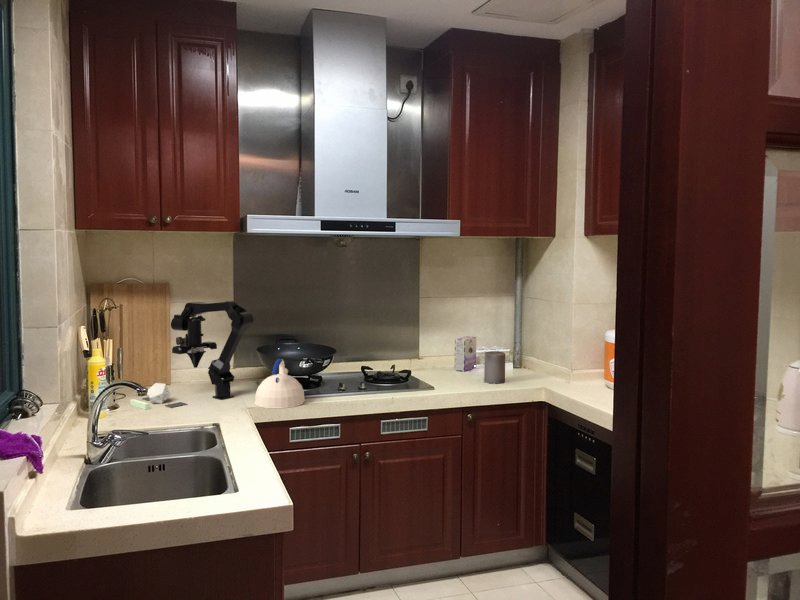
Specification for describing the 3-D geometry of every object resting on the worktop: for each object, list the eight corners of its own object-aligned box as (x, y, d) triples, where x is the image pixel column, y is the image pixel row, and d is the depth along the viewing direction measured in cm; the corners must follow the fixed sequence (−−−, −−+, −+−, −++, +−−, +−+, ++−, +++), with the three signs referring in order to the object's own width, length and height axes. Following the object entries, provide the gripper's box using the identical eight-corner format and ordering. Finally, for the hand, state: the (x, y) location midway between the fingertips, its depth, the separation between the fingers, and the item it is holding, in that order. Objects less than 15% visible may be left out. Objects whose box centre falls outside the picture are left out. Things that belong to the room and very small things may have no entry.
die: (150, 407, 256) (165, 388, 257) (138, 395, 260) (152, 375, 260) (163, 410, 264) (178, 391, 264) (151, 398, 267) (165, 379, 268)
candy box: (466, 366, 340) (466, 335, 339) (476, 367, 337) (476, 336, 335) (454, 370, 328) (454, 338, 327) (464, 372, 325) (464, 339, 324)
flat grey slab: (187, 404, 259) (187, 399, 259) (152, 411, 248) (152, 406, 247) (157, 396, 274) (157, 391, 273) (123, 402, 262) (123, 397, 262)
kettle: (309, 396, 273) (308, 354, 271) (300, 409, 252) (299, 363, 251) (261, 396, 273) (260, 354, 272) (248, 408, 253) (247, 363, 251)
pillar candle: (501, 379, 307) (501, 348, 306) (507, 383, 298) (508, 351, 296) (481, 380, 306) (481, 348, 304) (487, 384, 296) (488, 352, 295)
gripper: (201, 327, 286) (202, 362, 288) (164, 332, 272) (165, 368, 273) (217, 329, 280) (218, 365, 281) (179, 334, 265) (180, 371, 266)
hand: (195, 367), depth 275 cm, fingers closed
